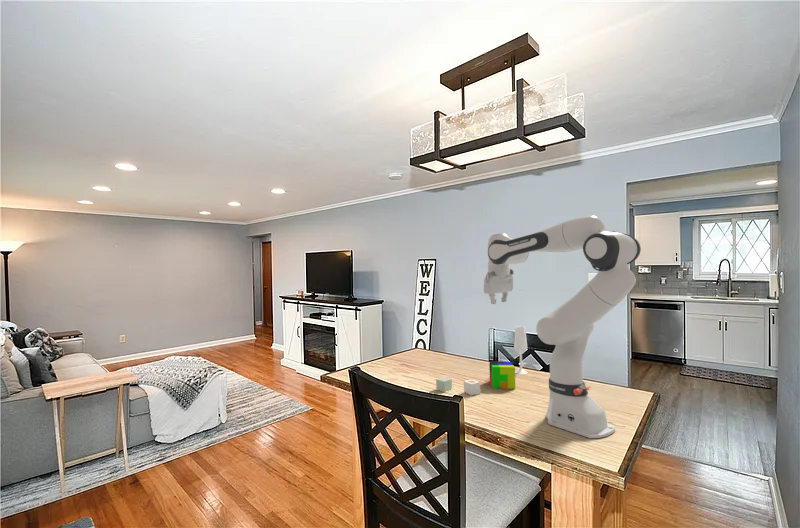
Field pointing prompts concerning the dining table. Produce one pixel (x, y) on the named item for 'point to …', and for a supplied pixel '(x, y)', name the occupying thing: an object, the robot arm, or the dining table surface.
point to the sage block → (443, 384)
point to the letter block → (472, 387)
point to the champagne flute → (520, 345)
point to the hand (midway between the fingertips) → (498, 302)
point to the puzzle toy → (502, 374)
